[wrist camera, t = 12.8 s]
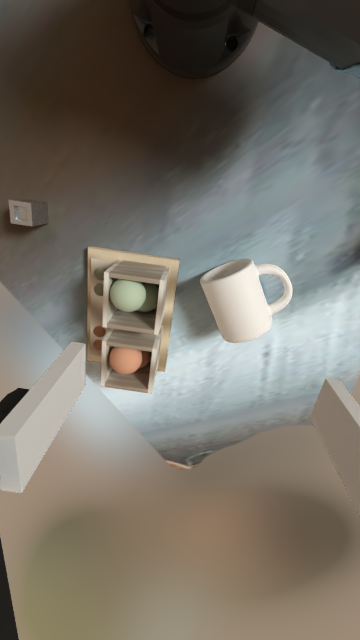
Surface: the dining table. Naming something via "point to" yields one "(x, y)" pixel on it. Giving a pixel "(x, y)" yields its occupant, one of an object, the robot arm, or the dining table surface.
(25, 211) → the post
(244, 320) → the mug
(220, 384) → the dining table surface
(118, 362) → the ball terracotta
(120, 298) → the ball sage upper
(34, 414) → the robot arm
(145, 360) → the ball terracotta in tube
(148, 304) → the ball sage lower
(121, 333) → the rack
